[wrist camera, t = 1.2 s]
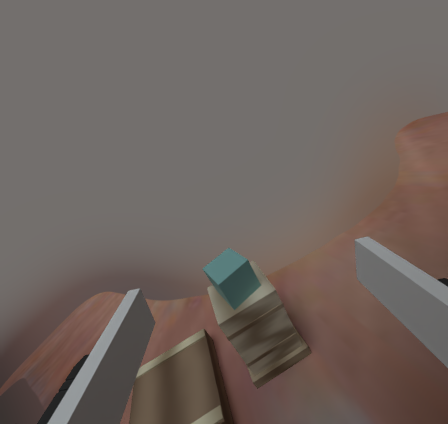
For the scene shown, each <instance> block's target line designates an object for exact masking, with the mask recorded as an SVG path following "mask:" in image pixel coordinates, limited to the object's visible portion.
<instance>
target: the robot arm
mask: <svg viewBox="0 0 448 424" xmlns="http://www.w3.org/2000/svg"><path fill="white" fill-rule="evenodd" d="M355 254H356V271H357V279H358V280H359V281H360V282H361V283H362V284H363V285H364V286H365V287H366V288H367V289H368V290H369V291H370V292H371V293H372V294H373V295H374V296H375V297H376V298H377V299H378V300H379V301H380V302H381V303H382V304H383V305H384V306H385V307H386V308H387V309H388V310H389V311H390V312H391V313H392V314H393V315H394V316H395V317H396V318H397V319H398V320H399V321H400V322H401V323H402V324H403V325H404V326H405V327H407V328H408V329H409V330H410V331H411V332H412V333H413V334H414V335H415V336H416V337H417V338H418V339H419V340H420V341H421V342H422V343H423V344H424V345H425V346H426V347H427V348H428V349H429V350H430V351H431V352H432V353H433V354H434V355H435V356H436V357H437V358H438V359H439V360H440V361H441V362H442V363H443V364H444V365H445V366H446V367H447V368H448V279H446V278H443V279H438V280H436V279H435V278H433V277H431V276H430V275H428V274H427V273H425V272H424V271H422V270H420V269H419V268H417V267H416V266H414V265H412V264H411V263H409V262H408V261H406V260H404V259H403V258H401V257H400V256H398V255H396V254H395V253H393V252H392V251H390V250H388V249H387V248H385V247H384V246H382V245H381V244H379V243H377V242H376V241H374V240H373V239H371V238H369V237H364V238H360V239H355ZM154 325H155V320H154V318H153V316H152V314H151V311H150V309H149V307H148V305H147V302H146V300H145V298H144V296H143V294H142V291H141V289H135V290H131V291H128V293H127V294H126V296H125V297H124V299H123V301H122V302H121V304H120V306H119V307H118V309H117V311H116V312H115V314H114V315H113V317H112V319H111V320H110V322H109V324H108V325H107V327H106V329H105V330H104V332H103V333H102V335H101V337H100V338H99V340H98V342H97V343H96V345H95V347H94V348H93V350H92V351H91V353H90V354H89V355H85V356H84V357H83V358H82V359H81V360H80V361H79V362H78V363H77V364H76V365H75V366H74V368H73V369H72V371H71V372H70V374H69V375H68V377H67V378H66V381H65V382H64V383H63V385H62V386H61V388H60V389H59V392H58V393H57V394H56V395H55V397H54V398H53V400H52V402H51V403H50V405H49V406H48V408H47V409H46V411H45V412H44V414H43V415H42V417H41V419H40V420H39V422H38V423H37V424H120V421H121V419H122V416H123V413H124V410H125V407H126V404H127V402H128V399H129V396H130V393H131V390H132V387H133V385H134V382H135V379H136V376H137V373H138V370H139V368H140V365H141V362H142V359H143V356H144V354H145V351H146V348H147V345H148V342H149V339H150V337H151V334H152V331H153V328H154Z"/></svg>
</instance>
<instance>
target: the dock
mask: <svg viewBox="0 0 448 424" xmlns="http://www.w3.org/2000/svg"><path fill="white" fill-rule="evenodd" d="M129 424H234V423H233V419H232V415H231V411H230V407H229V403H228V399H227V395H226V391H225V387H224V383H223V379H222V375H221V371H220V367H219V363H218V359H217V355H216V351H215V347H214V343H213V340H212V338H211V337H210V336H209V334H208V333H207V332H206V330H205V329H202V330H201V331H199V332H197V333H196V334H194V335H193V336H191V337H189V338H188V339H186V340H184V341H183V342H181V343H179V344H178V345H176V346H175V347H173V348H171V349H170V350H168V351H166V352H165V353H163V354H162V355H160V356H158V357H157V358H155V359H153V360H152V361H150V362H148V363H147V364H145V365H144V366H142V367H140V368H139V370H138V373H137V376H136V379H135V382H134V387H133V396H132V404H131V413H130V421H129Z"/></svg>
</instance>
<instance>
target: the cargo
mask: <svg viewBox="0 0 448 424" xmlns="http://www.w3.org/2000/svg"><path fill="white" fill-rule="evenodd" d="M203 270H204V272H205V273H206V275H207V277H208V278H209V280H210V281H211V283H212V284H213V286H214V287H215V289H216V290H217V292H218V293H219V294H220V295H221V296H222V297H223V298H224V300H225V301H226V302H227V303H228V304H229V305H230V306H231V307H232V308H233V309H234V310H235V309H236V308H237V307H239V306H240V305H241V304H242V303H243V302H244V301H245V300H246V299H247V298H248V297H249V296H250V295H251V294H253V293H254V292H255V291H256V290H257V289H258V288H259V287H260V286H261V284H260V282H259V280H258V278H257V276H256V275H255V273H254V271H253V269H252V267H251V265H250V263H249V261H248V260H247V259H246V258H244V257H243V256H241V255H239V254H238V253H236V252H235V251H233V250H232V249H230V248H228V249H227V250H225V251H224V252H223V253H222V254H220V255H219V256H218V257H217V258H215V259H214V260H213V261H211V263H209V264H208V265H206V266H205V267H204V268H203Z"/></svg>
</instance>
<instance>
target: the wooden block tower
mask: <svg viewBox="0 0 448 424" xmlns="http://www.w3.org/2000/svg"><path fill="white" fill-rule="evenodd" d="M250 265H251V267H252V269H253V271H254V273H255V275H256V276H257V278H258V280H259V282H260V284H261V286H260V287H259V288H258V289H257V290H256V291H255V292H254V293H253V294H251V295H250V296H249V297H248V298H247V299H246V300H245V301H244V302H243V303H242V304H241V305H240V306H239V307H237V308H236V309H235V310H234V309H233V308H232V307H231V306H230V305H229V304H228V303H227V302H226V301H225V300H224V298H223V297H222V296H221V295H220V294H219V293H218V292H217V290H216V289H215V287H214V286H213V285H211V286H210V287H208V288H207V289H208V292H209V295H210V299H211V302H212V305H213V309H214V312H215V315H216V319H217V322H218V325H219V327H220V328H221V329H222V331H223V332H224V334H225V335H226V337H227V339H228V340H229V341H230V342H231V343H232V345H233V346H234V348H235V349H236V350H237V352H238V353H239V355H240V356H241V357H242V359H243V360H244V361H245V363H246V365H247V368H248V370H249V373H250V376H251V378H252V381H253V383H254V385H255V386H256V387H257V389H258V388H259V387H261V386H262V385H264V384H265V383H267V382H268V381H270V380H271V379H273V378H275V377H276V376H278V375H279V374H281V373H282V372H284V371H285V370H287V369H288V368H290V367H291V366H293V365H294V364H296V363H297V362H299V361H300V360H302V359H304V358H305V357H307V356H308V355H310V354H311V352H310V350H309V347H308V346H307V344H306V343H305V341H304V340H303V339H302V337H301V336H300V334H299V333H298V332H297V330H296V329H295V327H294V326H293V324H292V323H291V321H290V319H289V317H288V314H287V312H286V310H285V308H284V305H283V303H282V302H281V300H280V298H279V296H278V294H277V292H276V290H275V288H274V287H273V286H272V284H271V283H270V282H269V280H268V279H267V278H266V276H265V275H264V274H263V272H262V271H261V270H260V268H259V267H258V266H257V264H256V263H255V262H254V261H252V262H250Z"/></svg>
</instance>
